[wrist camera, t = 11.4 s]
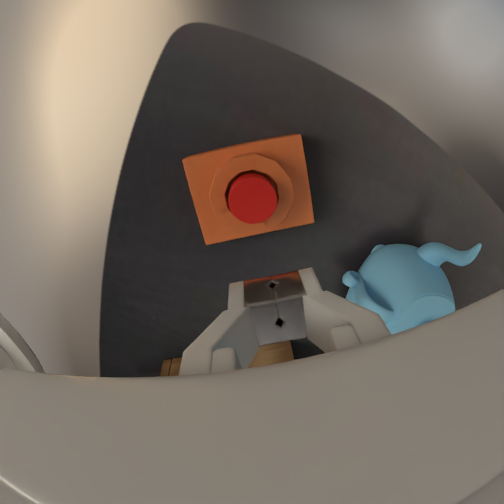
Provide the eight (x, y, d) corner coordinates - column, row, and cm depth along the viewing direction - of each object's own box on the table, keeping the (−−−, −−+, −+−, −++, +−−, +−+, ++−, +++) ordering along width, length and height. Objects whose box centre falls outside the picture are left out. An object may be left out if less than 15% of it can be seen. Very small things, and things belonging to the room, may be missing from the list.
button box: (208, 236, 27) (203, 254, 23) (186, 156, 23) (177, 162, 20) (308, 215, 26) (319, 230, 23) (295, 133, 23) (306, 135, 19)
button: (234, 220, 22) (234, 228, 21) (224, 178, 21) (223, 183, 19) (278, 211, 22) (281, 218, 21) (270, 168, 20) (272, 172, 19)
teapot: (342, 328, 34) (372, 397, 24) (321, 238, 27) (367, 310, 17) (421, 293, 32) (464, 348, 23) (421, 200, 26) (489, 248, 16)
